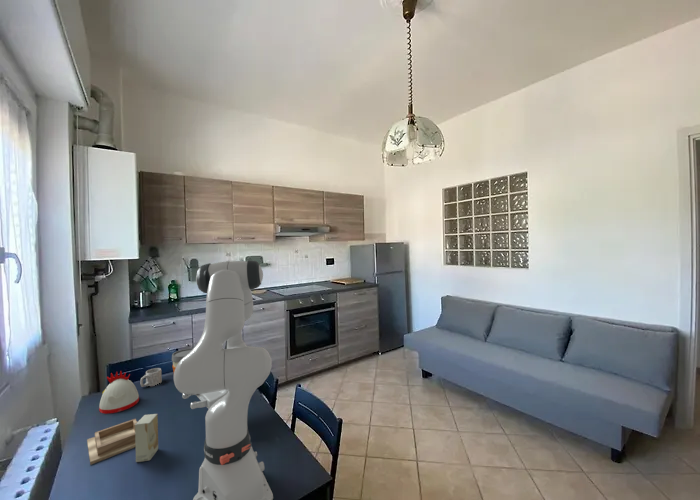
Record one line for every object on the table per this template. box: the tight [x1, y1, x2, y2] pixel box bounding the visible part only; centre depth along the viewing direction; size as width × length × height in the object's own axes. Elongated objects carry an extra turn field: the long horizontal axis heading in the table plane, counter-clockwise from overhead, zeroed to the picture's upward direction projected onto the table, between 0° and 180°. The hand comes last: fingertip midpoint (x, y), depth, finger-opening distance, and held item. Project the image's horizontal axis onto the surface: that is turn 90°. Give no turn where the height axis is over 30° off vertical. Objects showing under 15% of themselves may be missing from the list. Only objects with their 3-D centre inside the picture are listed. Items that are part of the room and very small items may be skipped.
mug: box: [139, 367, 163, 388], centre depth 152 cm, size 10×7×7 cm, turn 159°
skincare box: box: [135, 413, 159, 463], centre depth 99 cm, size 6×4×12 cm
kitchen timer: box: [98, 370, 140, 415], centre depth 133 cm, size 14×14×15 cm
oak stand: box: [86, 417, 138, 466], centre depth 107 cm, size 16×16×4 cm
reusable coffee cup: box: [171, 348, 193, 373], centre depth 155 cm, size 13×13×15 cm
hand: (186, 401), depth 108 cm, fingers open, 8 cm apart
